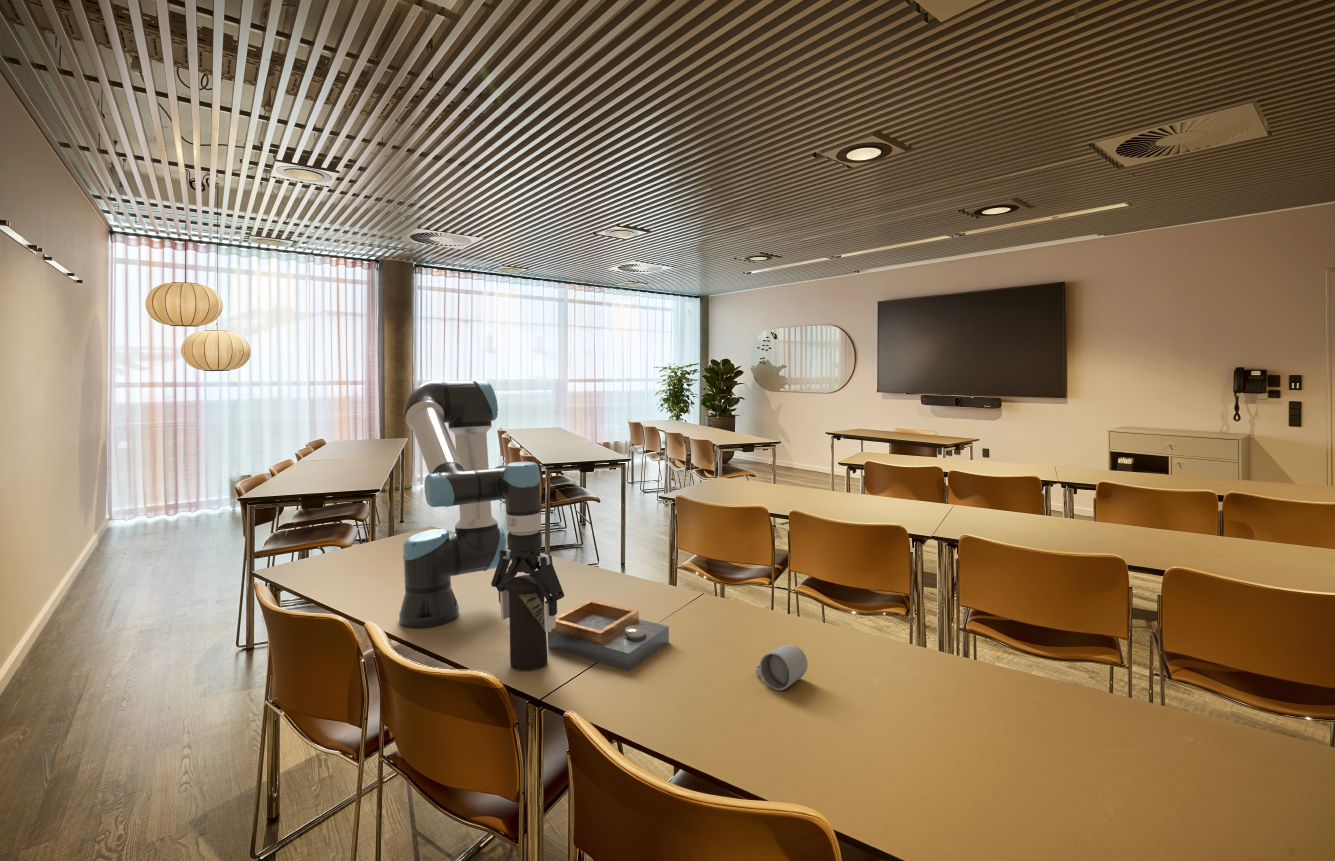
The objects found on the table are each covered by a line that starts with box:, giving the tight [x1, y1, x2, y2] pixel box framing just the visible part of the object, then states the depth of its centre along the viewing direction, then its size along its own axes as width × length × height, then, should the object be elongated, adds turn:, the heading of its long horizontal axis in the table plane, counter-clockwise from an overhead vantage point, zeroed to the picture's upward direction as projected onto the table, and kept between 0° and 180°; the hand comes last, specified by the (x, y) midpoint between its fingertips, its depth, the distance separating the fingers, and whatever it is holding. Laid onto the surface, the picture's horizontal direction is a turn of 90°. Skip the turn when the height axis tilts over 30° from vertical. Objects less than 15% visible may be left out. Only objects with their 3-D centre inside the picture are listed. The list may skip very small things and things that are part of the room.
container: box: [505, 574, 548, 672], centre depth 138 cm, size 9×9×20 cm
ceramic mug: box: [754, 644, 808, 691], centre depth 130 cm, size 11×8×8 cm
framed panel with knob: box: [546, 599, 670, 672], centre depth 148 cm, size 24×17×6 cm
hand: (527, 623), depth 138 cm, fingers open, 13 cm apart
